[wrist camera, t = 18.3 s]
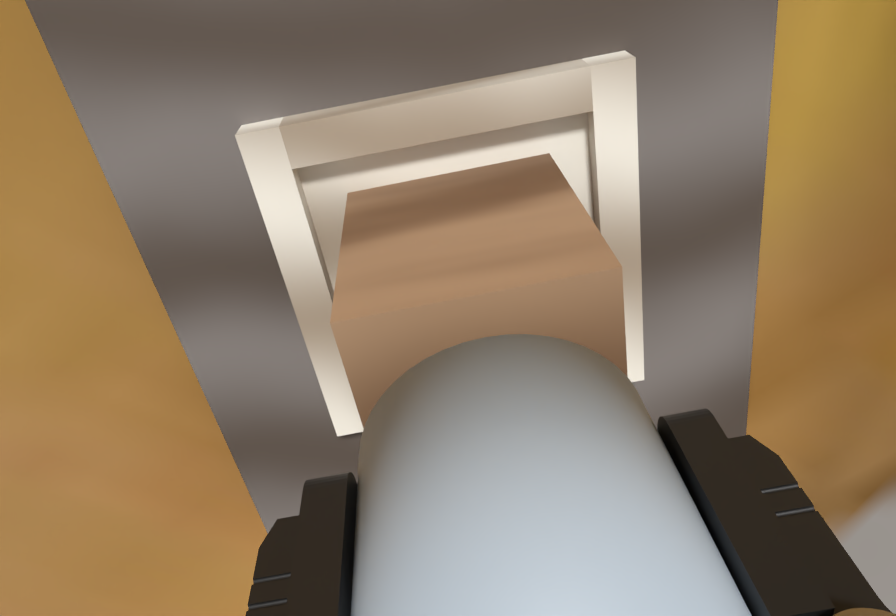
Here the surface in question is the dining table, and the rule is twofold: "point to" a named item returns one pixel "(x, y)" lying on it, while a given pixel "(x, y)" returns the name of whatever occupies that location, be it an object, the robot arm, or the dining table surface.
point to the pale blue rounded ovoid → (526, 494)
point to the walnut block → (470, 270)
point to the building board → (419, 176)
